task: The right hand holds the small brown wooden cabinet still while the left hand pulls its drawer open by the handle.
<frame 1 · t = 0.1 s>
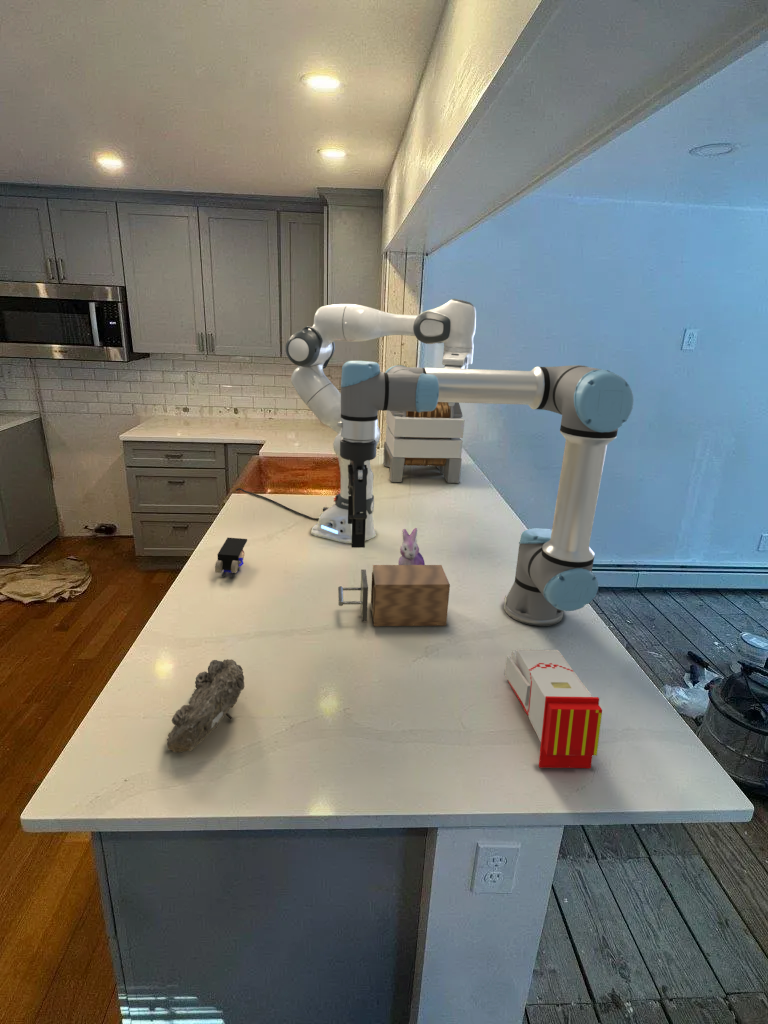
left hand: (454, 403, 174), 48 cm above the counter, tool pointing down, fingers open, 8 cm apart
right hand: (355, 534, 124), 28 cm above the counter, tool pointing down, fingers open, 13 cm apart
figurine character: (232, 569, 168), on the counter
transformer: (419, 473, 275), on the counter
figurine: (410, 577, 168), on the counter
cabinet: (407, 614, 147), on the counter
fossil: (212, 717, 108), on the counter
toy: (541, 716, 112), on the counter
drawer: (383, 594, 145), point 6 cm above the counter, slide at 1.8 cm
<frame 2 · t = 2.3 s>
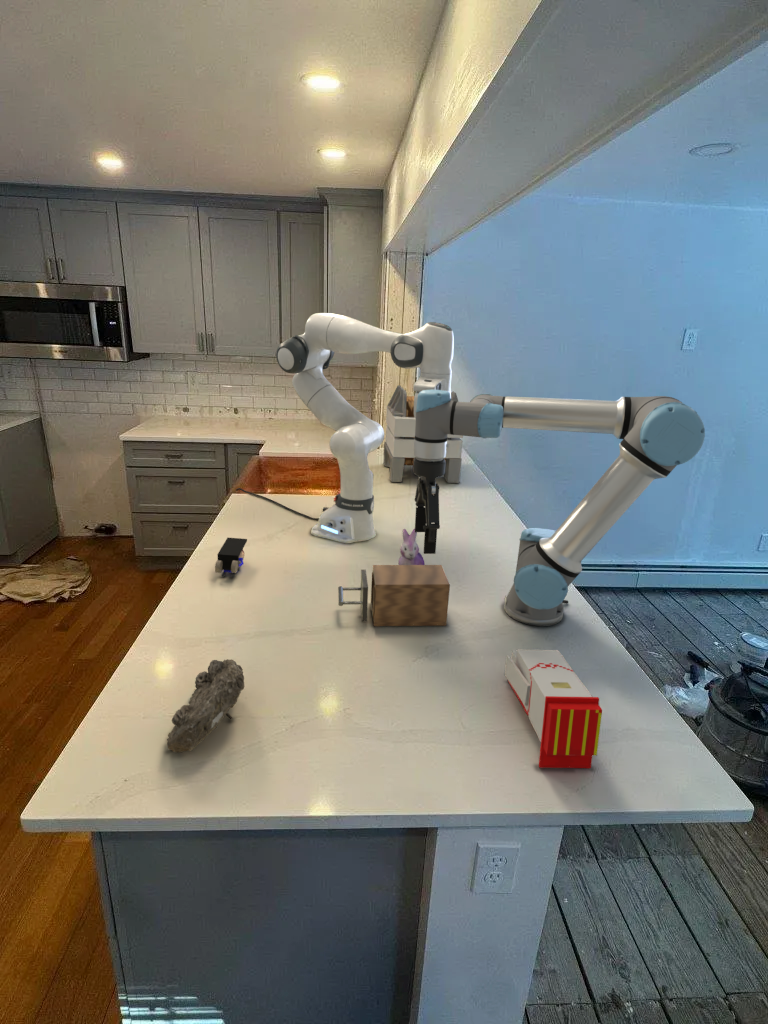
left hand: (431, 431, 165), 42 cm above the counter, tool pointing down, fingers open, 8 cm apart
right hand: (424, 542, 139), 21 cm above the counter, tool pointing down, fingers open, 13 cm apart
nothing on the counter moved.
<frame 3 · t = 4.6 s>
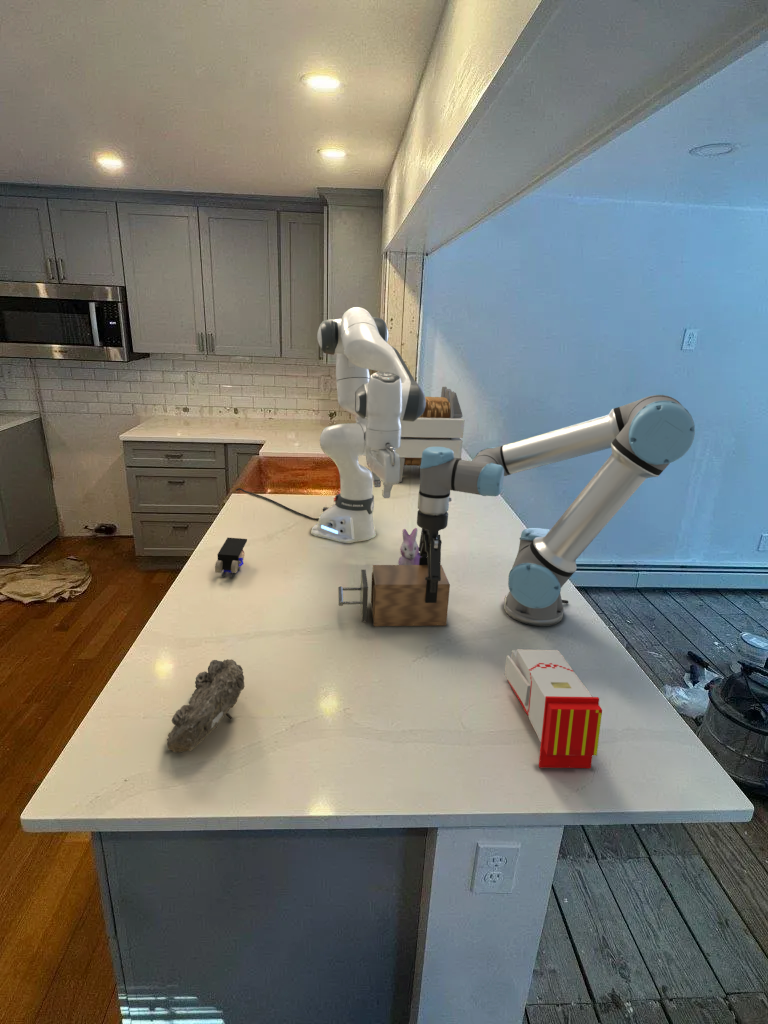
left hand: (381, 491, 147), 30 cm above the counter, tool pointing down, fingers open, 8 cm apart
right hand: (426, 590, 146), 7 cm above the counter, tool pointing down, fingers closed on cabinet, 11 cm apart
cabinet: (407, 614, 147), on the counter, touching right hand
everything else where it was.
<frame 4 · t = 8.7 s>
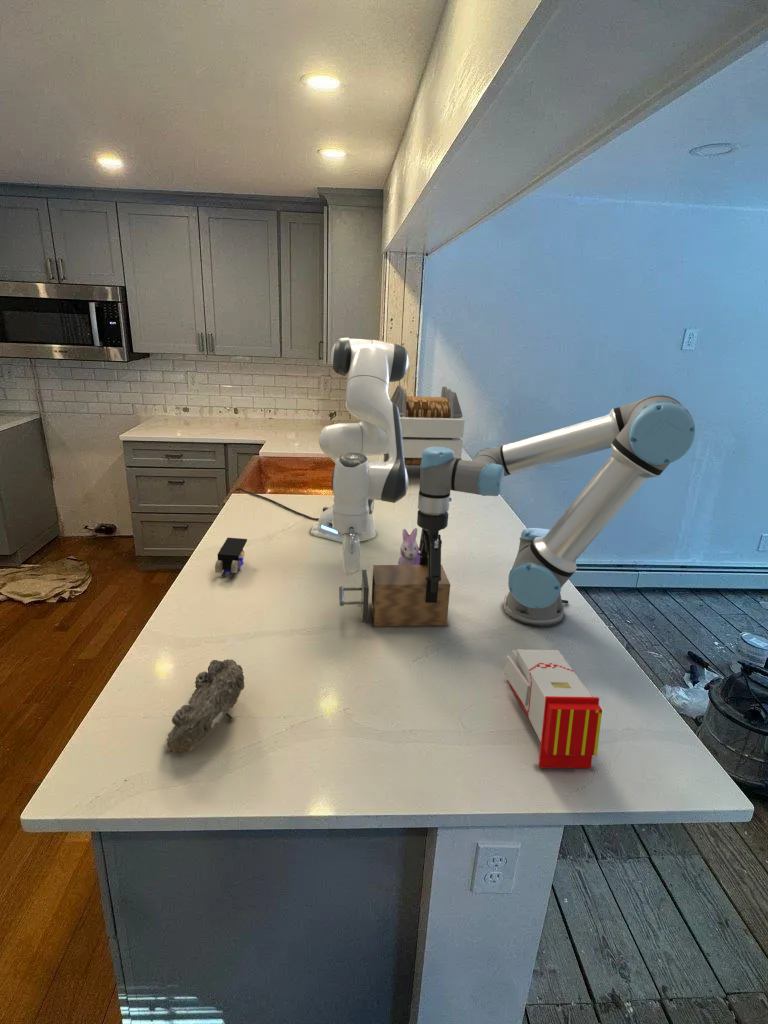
left hand: (349, 572, 142), 12 cm above the counter, tool pointing down, fingers closed
right hand: (427, 590, 146), 7 cm above the counter, tool pointing down, fingers closed on cabinet, 11 cm apart
cabinet: (408, 614, 147), on the counter, touching right hand
everything else where it was.
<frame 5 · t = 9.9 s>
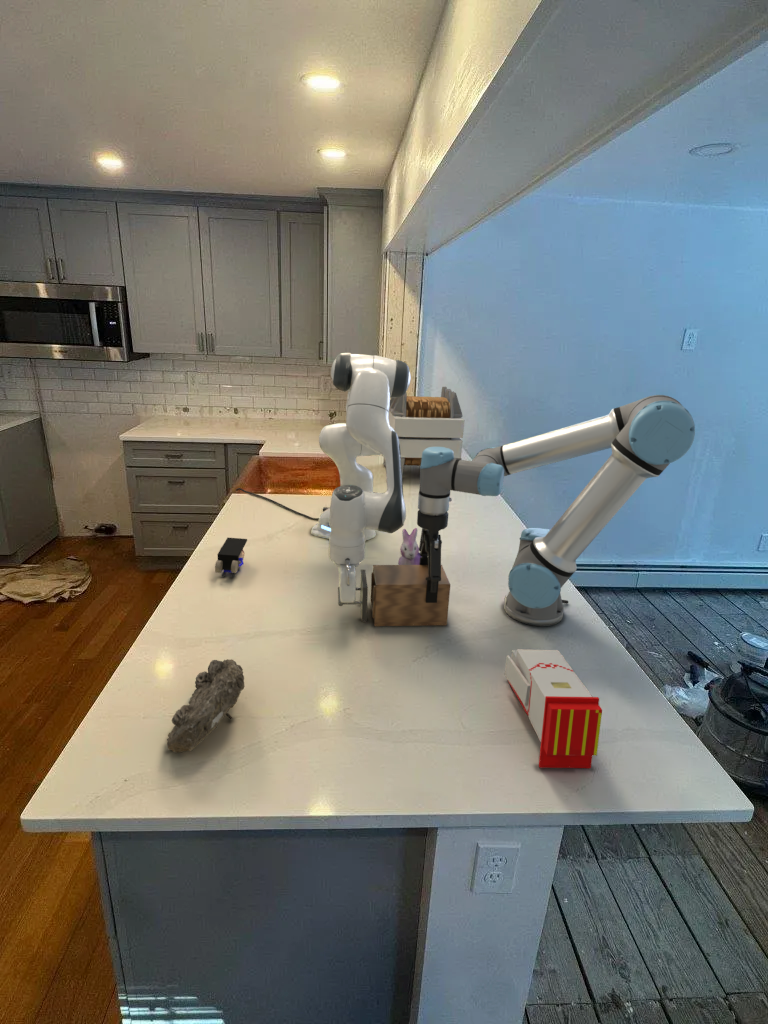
left hand: (346, 600, 145), 4 cm above the counter, tool pointing down, fingers closed, pressing on drawer
right hand: (427, 590, 146), 7 cm above the counter, tool pointing down, fingers closed on cabinet, 11 cm apart
cabinet: (408, 614, 148), on the counter, touching right hand
drawer: (382, 594, 145), point 6 cm above the counter, slide at 2.0 cm, touching left hand
everything else where it was.
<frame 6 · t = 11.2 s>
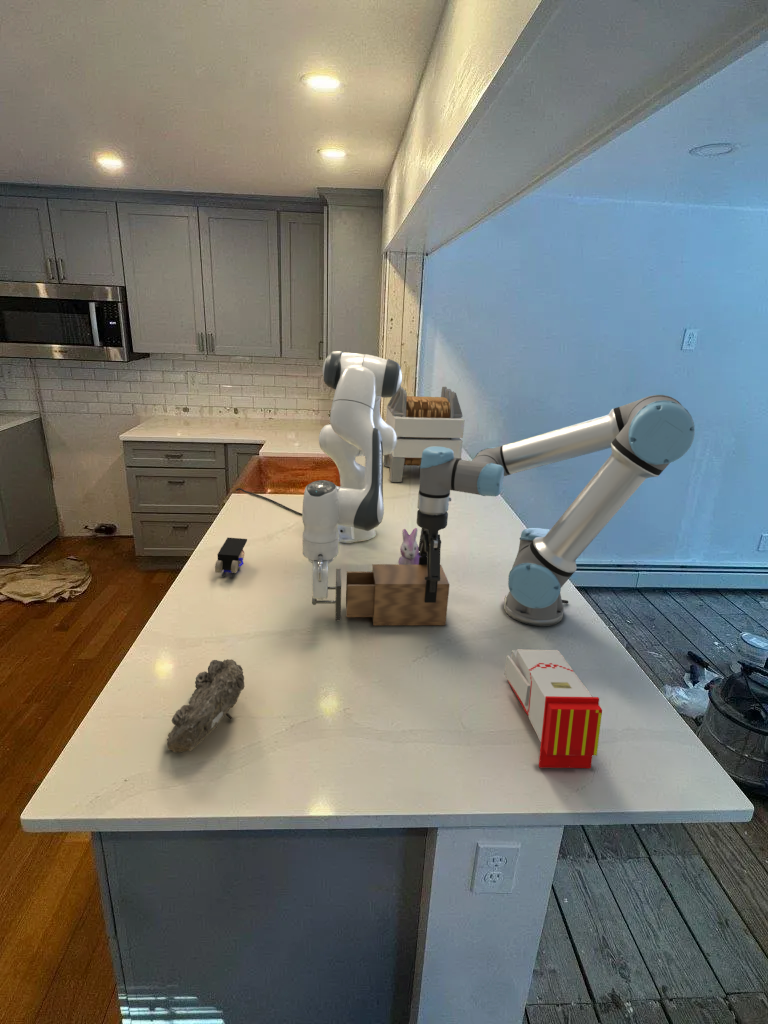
left hand: (320, 596, 144), 5 cm above the counter, tool pointing down, fingers closed, pressing on drawer
right hand: (426, 590, 146), 7 cm above the counter, tool pointing down, fingers closed on cabinet, 11 cm apart
cabinet: (406, 614, 148), on the counter, touching right hand
drawer: (357, 594, 144), point 6 cm above the counter, slide at 8.2 cm, touching left hand
everything else where it was.
when the right hand's fingers open (7 cm above the counter, at t = 12.6 s): cabinet stays where it is, on the counter.
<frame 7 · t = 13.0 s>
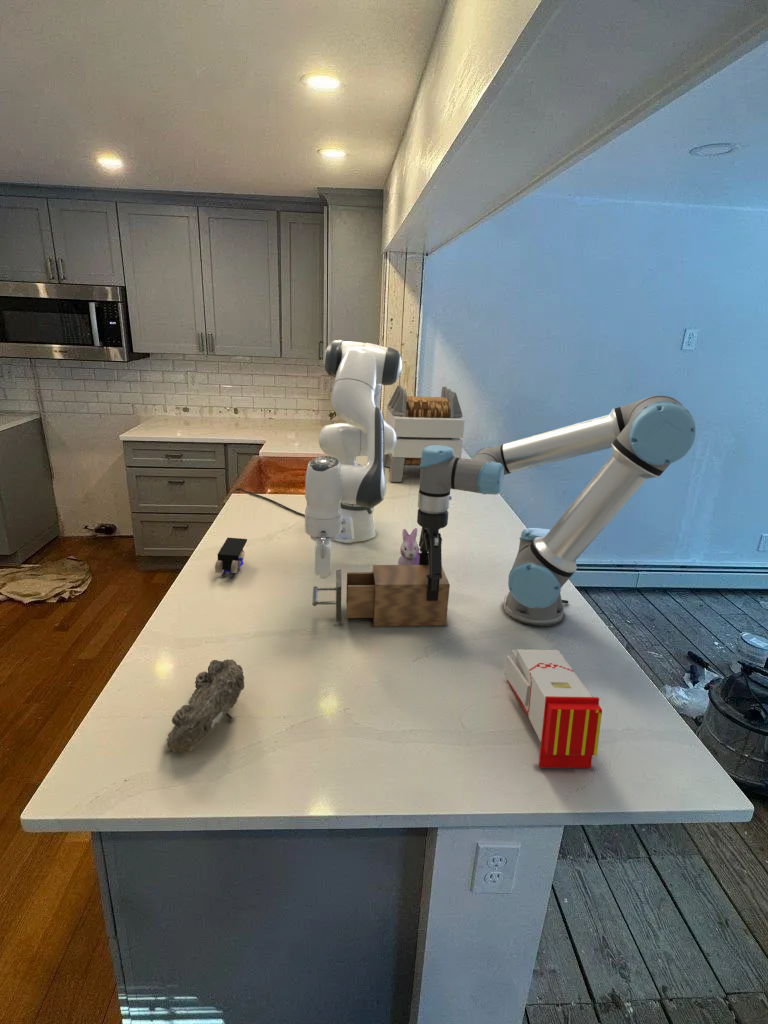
left hand: (323, 576, 142), 11 cm above the counter, tool pointing down, fingers closed
right hand: (427, 587, 145), 8 cm above the counter, tool pointing down, fingers open, 13 cm apart
cabinet: (407, 614, 148), on the counter
drawer: (357, 594, 144), point 6 cm above the counter, slide at 8.2 cm
everything else where it was.
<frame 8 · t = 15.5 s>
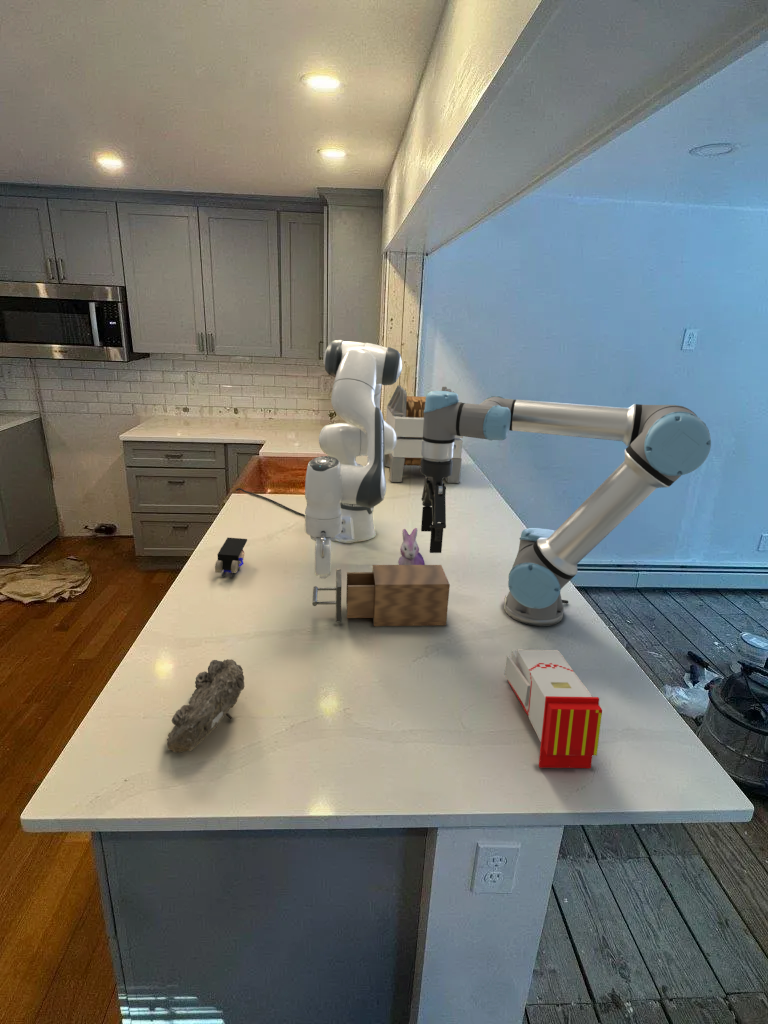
left hand: (323, 576, 142), 11 cm above the counter, tool pointing down, fingers closed
right hand: (430, 541, 141), 21 cm above the counter, tool pointing down, fingers open, 13 cm apart
nothing on the counter moved.
at the end: drawer slide at 8.2 cm; cabinet tilted 0°; cabinet never tilted more than 1° during the clip; cabinet moved 0.1 cm from its start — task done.
